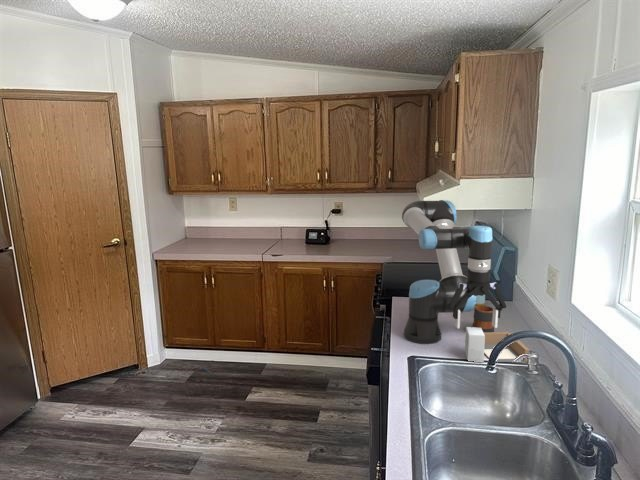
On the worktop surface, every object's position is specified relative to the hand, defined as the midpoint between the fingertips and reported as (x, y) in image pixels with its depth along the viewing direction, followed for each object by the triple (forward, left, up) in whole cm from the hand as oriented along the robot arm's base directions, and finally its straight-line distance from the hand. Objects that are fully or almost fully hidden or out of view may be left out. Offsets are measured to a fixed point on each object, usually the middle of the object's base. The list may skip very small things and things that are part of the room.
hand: (475, 326), depth 154 cm
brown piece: (+11, +4, -12) cm, 17 cm away
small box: (0, 0, -12) cm, 12 cm away
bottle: (+24, +60, -12) cm, 66 cm away
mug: (+12, +22, -12) cm, 28 cm away
